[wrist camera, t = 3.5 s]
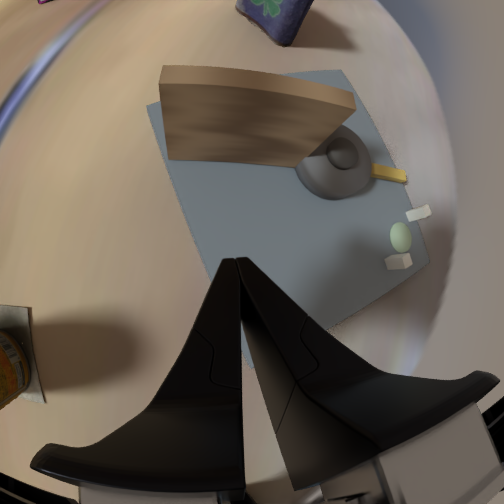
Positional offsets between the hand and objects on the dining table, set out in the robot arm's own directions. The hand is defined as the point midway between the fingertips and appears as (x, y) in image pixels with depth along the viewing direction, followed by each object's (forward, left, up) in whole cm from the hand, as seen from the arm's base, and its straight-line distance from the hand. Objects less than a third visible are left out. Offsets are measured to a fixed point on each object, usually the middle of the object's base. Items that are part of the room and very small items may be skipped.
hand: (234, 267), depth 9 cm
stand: (+3, -10, -11) cm, 15 cm away
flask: (+23, -15, -11) cm, 30 cm away
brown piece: (+5, -10, -10) cm, 15 cm away
